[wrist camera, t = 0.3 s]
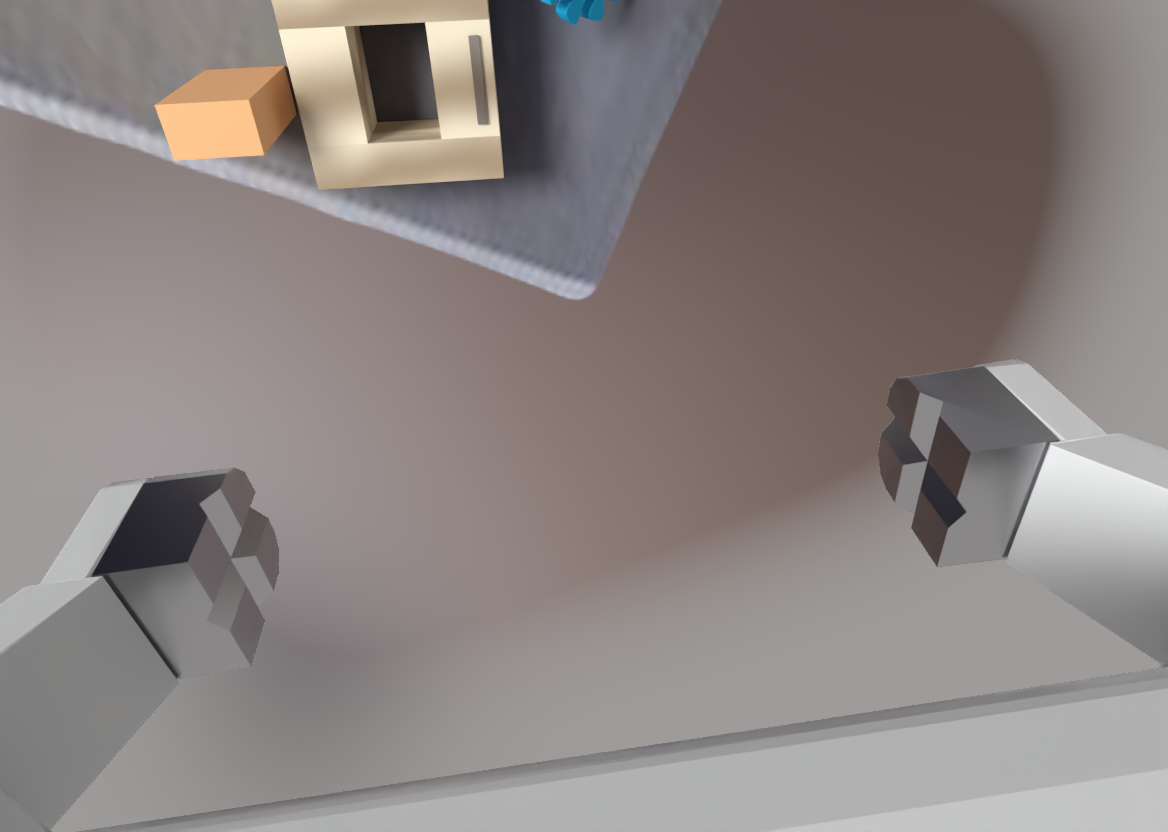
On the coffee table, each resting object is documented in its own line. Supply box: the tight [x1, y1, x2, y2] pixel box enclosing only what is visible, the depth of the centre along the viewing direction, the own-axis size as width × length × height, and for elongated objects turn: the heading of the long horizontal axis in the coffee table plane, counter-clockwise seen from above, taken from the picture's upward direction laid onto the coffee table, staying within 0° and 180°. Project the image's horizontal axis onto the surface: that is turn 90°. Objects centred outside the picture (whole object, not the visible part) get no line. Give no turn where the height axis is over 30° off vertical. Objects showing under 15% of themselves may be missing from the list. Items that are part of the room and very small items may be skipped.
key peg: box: [155, 66, 297, 161], centre depth 45 cm, size 3×5×9 cm, turn 92°
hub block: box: [272, 0, 504, 190], centre depth 46 cm, size 12×12×5 cm
